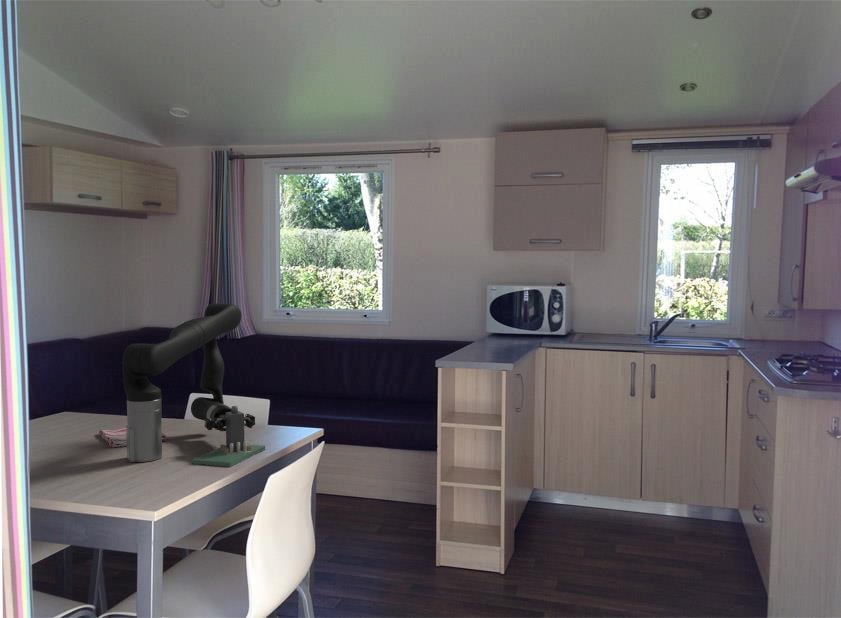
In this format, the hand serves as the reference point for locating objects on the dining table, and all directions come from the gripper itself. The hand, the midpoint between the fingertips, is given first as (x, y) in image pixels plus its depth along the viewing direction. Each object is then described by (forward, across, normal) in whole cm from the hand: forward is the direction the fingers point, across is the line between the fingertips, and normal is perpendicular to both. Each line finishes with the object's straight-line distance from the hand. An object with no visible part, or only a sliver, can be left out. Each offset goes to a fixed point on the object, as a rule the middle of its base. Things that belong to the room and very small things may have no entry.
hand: (236, 426), depth 204 cm
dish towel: (-40, -22, +10) cm, 47 cm away
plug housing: (-2, 0, +7) cm, 8 cm away
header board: (0, -2, +9) cm, 9 cm away
